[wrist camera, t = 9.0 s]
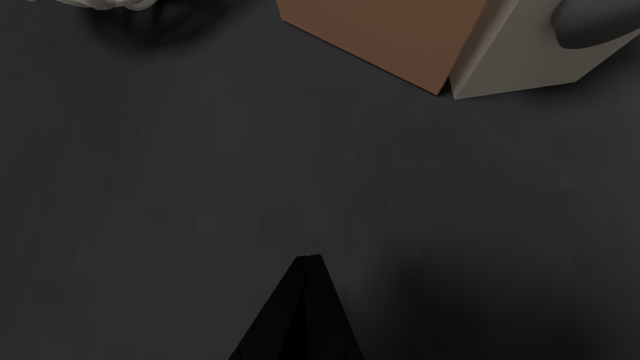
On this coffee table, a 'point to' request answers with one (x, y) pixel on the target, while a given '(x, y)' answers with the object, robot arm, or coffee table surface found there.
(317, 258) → the robot arm
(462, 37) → the side door
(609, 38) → the beige rectangular box
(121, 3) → the decorative ball
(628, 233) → the coffee table surface
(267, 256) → the coffee table surface
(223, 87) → the coffee table surface
